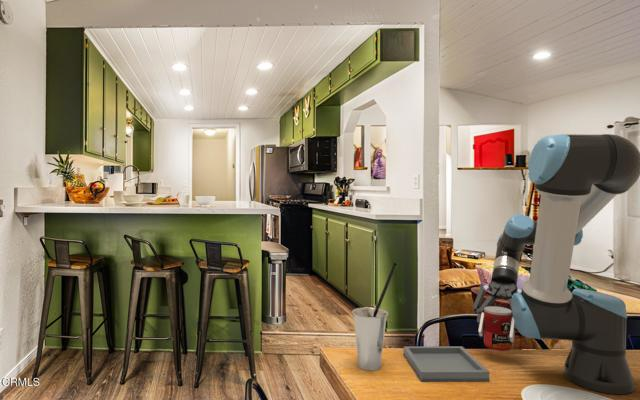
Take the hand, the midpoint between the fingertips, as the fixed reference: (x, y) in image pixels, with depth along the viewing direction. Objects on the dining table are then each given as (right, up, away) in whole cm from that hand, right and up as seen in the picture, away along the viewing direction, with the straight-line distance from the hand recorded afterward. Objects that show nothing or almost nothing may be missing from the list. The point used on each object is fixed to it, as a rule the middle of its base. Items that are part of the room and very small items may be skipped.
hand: (495, 336), depth 116 cm
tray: (-16, -7, -3) cm, 18 cm away
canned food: (+2, -4, +3) cm, 5 cm away
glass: (-37, -7, -4) cm, 37 cm away
